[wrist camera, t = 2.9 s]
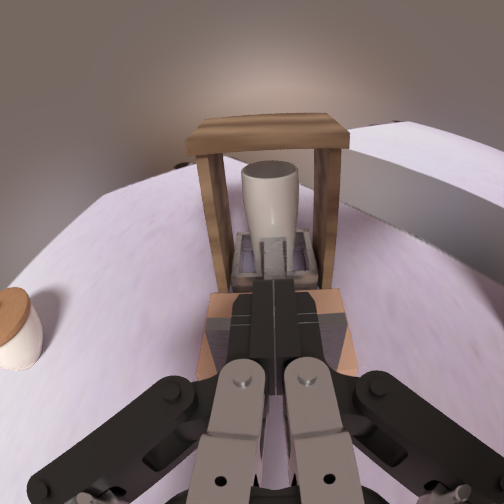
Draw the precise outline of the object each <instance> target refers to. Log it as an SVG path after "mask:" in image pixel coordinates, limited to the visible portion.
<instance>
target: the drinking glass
mask: <svg viewBox="0 0 504 504" xmlns="http://www.w3.org/2000/svg"><path fill="white" fill-rule="evenodd" d="M241 179H242V194H243V202H244V208H245V214H246V219H247V224H248V229H249V234H250V239H251V244H252V250H253V255H254V262H255V270H256V273H260V272H262V267H261V254H260V238H271V237H286V240H287V271H293V258H294V247H295V237H296V227H297V217H298V205H299V180H298V168H297V167H296V166H295V165H293V164H291V163H288V162H284V161H261V162H256V163H252V164H249V165H247V166H246V167H244V168H243V169H242V171H241Z"/></svg>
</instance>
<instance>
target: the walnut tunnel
mask: <svg viewBox="0 0 504 504" xmlns="http://www.w3.org/2000/svg"><path fill="white" fill-rule="evenodd" d="M349 142H350V133H349V132H348V131H347V130H346V129H345V128H344V127H342V126H341V125H340V124H339V123H338V122H337V121H335V120H334V119H333V118H332V117H331V116H329V115H328V114H327V113H285V114H284V113H281V114H261V115H244V116H232V117H221V118H211V119H205V120H204V121H203V123H202V124H201V125H200V126H199V127H198V128H197V129H196V130H195V131H194V132H193V133H192V134H191V135H190V136H189V137H188V138H187V139H186V141H185V144H186V151H187V156H196V163H197V170H198V176H199V182H200V189H201V195H202V201H203V207H204V213H205V219H206V225H207V230H208V236H209V242H210V247H211V253H212V258H213V264H214V269H215V275H216V280H217V285H218V290H219V293H229V292H230V284H231V273H232V266H233V259H234V251H235V250H234V242H233V235H232V227H231V219H230V211H229V203H228V195H227V186H226V178H225V170H224V161H223V153H227V152H241V151H258V150H277V149H310V148H311V149H314V213H313V242H312V248H313V253H314V257H315V262H316V266H317V271H318V278H319V283H320V288H321V289H331V284H332V276H333V266H334V257H335V246H336V235H337V222H338V208H339V192H340V172H341V170H340V169H341V149H349Z"/></svg>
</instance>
